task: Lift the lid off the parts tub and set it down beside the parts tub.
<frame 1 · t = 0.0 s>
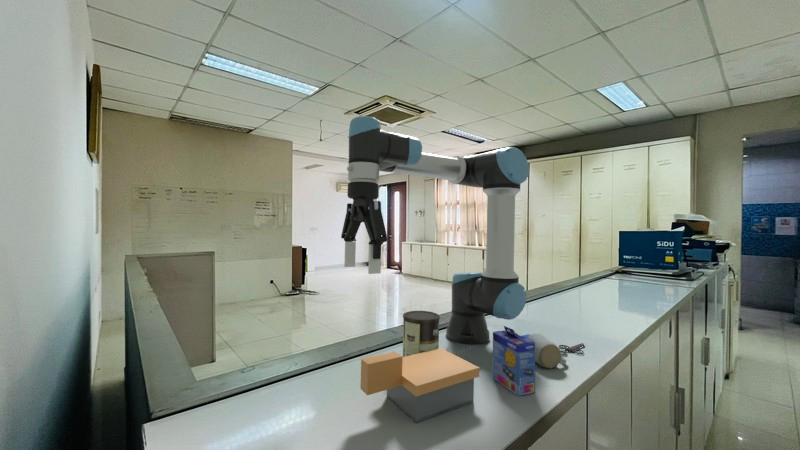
hand: (361, 270, 79), 28 cm above the counter, tool pointing down, fingers open, 13 cm apart
keychain: (573, 351, 106), on the counter
hard drive: (525, 344, 112), on the counter
coffee can: (420, 365, 91), on the counter
parts tub: (429, 399, 73), on the counter
ceramic mug: (546, 364, 95), on the counter
ink cartridge box: (512, 386, 81), on the counter
lid: (430, 368, 73), point 7 cm above the counter, touching parts tub
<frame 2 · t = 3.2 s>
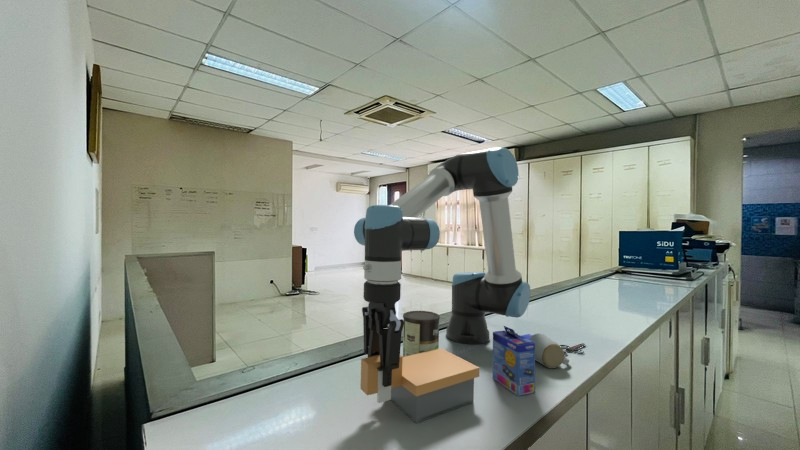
hand: (379, 396, 66), 4 cm above the counter, tool pointing down, fingers closed on lid, 3 cm apart
lid: (430, 368, 73), point 7 cm above the counter, touching gripper, parts tub
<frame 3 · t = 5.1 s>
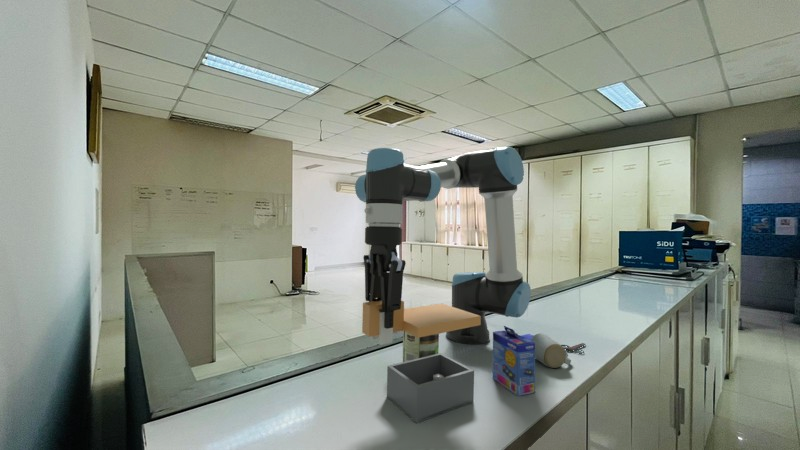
hand: (381, 340, 66), 15 cm above the counter, tool pointing down, fingers closed on lid, 3 cm apart
lid: (431, 317, 73), point 18 cm above the counter, touching gripper
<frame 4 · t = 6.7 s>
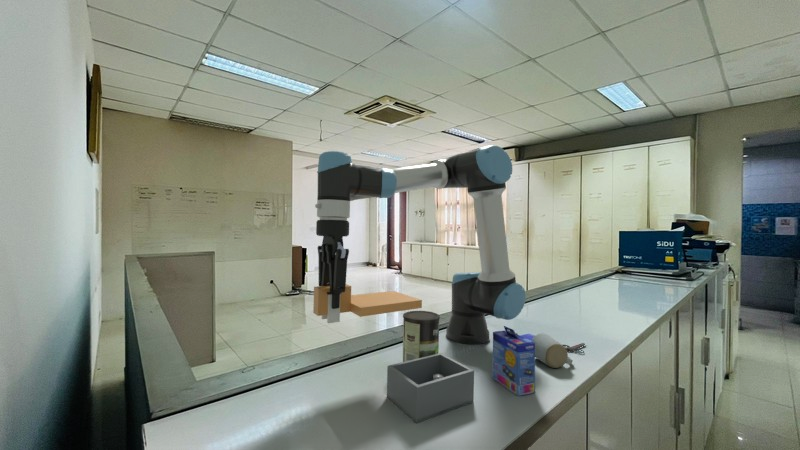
hand: (330, 319, 76), 17 cm above the counter, tool pointing down, fingers closed on lid, 3 cm apart
lid: (379, 301, 83), point 20 cm above the counter, touching gripper
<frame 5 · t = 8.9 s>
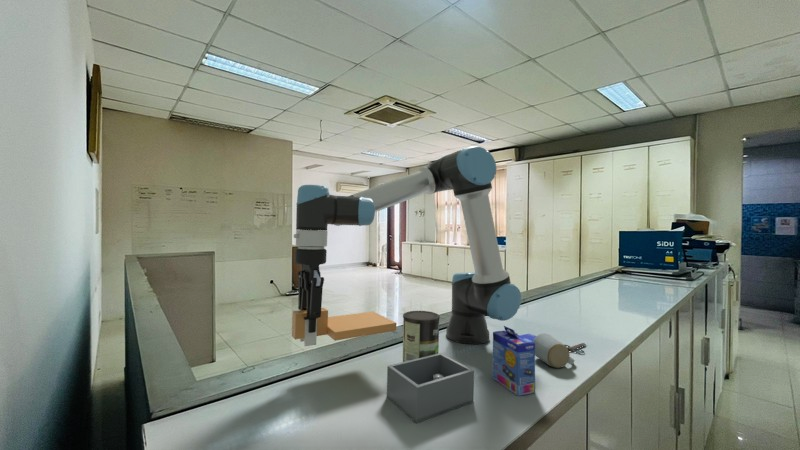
hand: (308, 342, 80), 10 cm above the counter, tool pointing down, fingers closed on lid, 3 cm apart
lid: (356, 323, 87), point 12 cm above the counter, touching gripper
when the fingers open (1 cm above the counter, at t = 10.6 s): lid drops 3 cm, point 1 cm above the counter.
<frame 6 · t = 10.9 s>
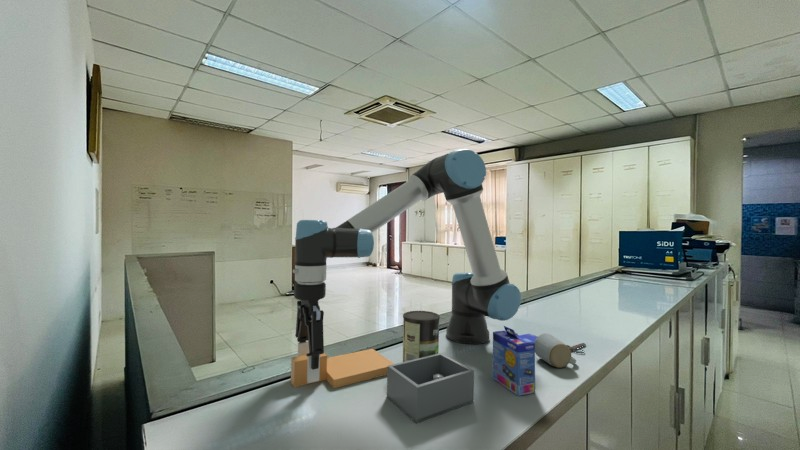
hand: (307, 374, 80), 2 cm above the counter, tool pointing down, fingers open, 8 cm apart
lid: (355, 365, 87), point 1 cm above the counter
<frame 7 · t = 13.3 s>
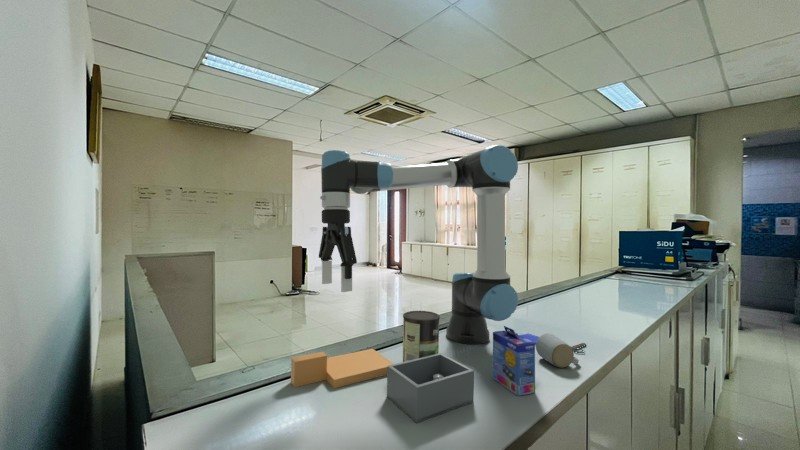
hand: (336, 287, 88), 22 cm above the counter, tool pointing down, fingers open, 13 cm apart
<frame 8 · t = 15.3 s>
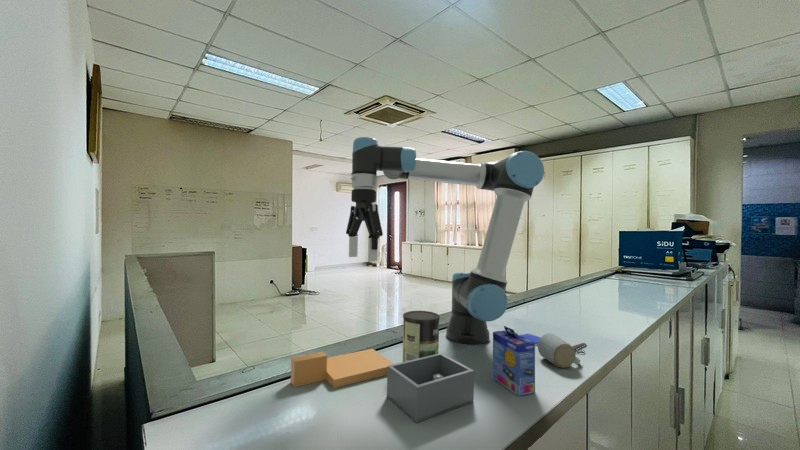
hand: (362, 258, 99), 29 cm above the counter, tool pointing down, fingers open, 13 cm apart
at the end: lid inside the target area (0.5 cm from its centre), point 1.2 cm above the counter; lid touching counter; the gripper is holding nothing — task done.
